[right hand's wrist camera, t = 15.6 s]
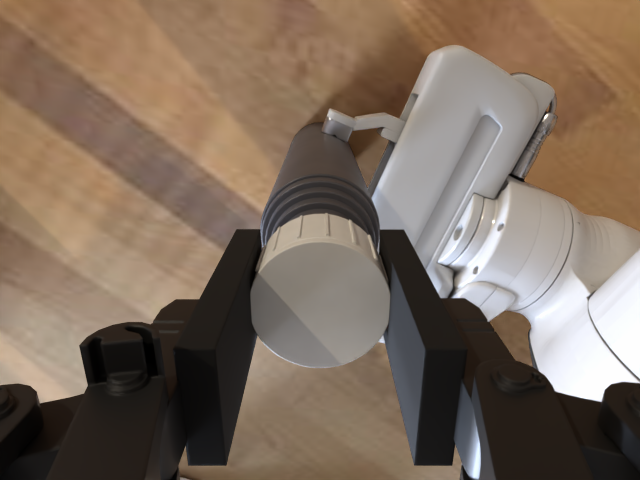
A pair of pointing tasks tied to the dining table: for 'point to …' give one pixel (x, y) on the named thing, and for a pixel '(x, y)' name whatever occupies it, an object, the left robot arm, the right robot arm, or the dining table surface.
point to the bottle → (319, 185)
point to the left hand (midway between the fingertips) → (307, 163)
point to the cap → (320, 292)
